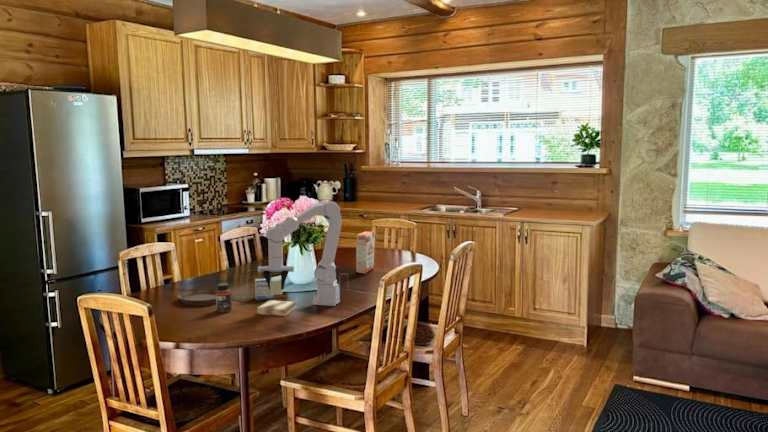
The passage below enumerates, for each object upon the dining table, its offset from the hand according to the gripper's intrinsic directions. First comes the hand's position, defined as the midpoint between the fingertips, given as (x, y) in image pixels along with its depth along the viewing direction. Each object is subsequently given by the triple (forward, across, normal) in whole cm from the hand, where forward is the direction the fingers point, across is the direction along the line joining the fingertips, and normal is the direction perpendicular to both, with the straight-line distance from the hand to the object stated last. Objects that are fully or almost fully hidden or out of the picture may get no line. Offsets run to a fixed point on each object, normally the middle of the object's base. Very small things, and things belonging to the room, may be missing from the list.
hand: (276, 288), depth 238 cm
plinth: (+9, 0, 0) cm, 9 cm away
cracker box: (+9, -35, -72) cm, 81 cm away
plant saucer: (+10, +35, -16) cm, 40 cm away
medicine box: (+9, +9, -20) cm, 23 cm away
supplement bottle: (+9, +22, 0) cm, 24 cm away
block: (+2, 0, 0) cm, 2 cm away
